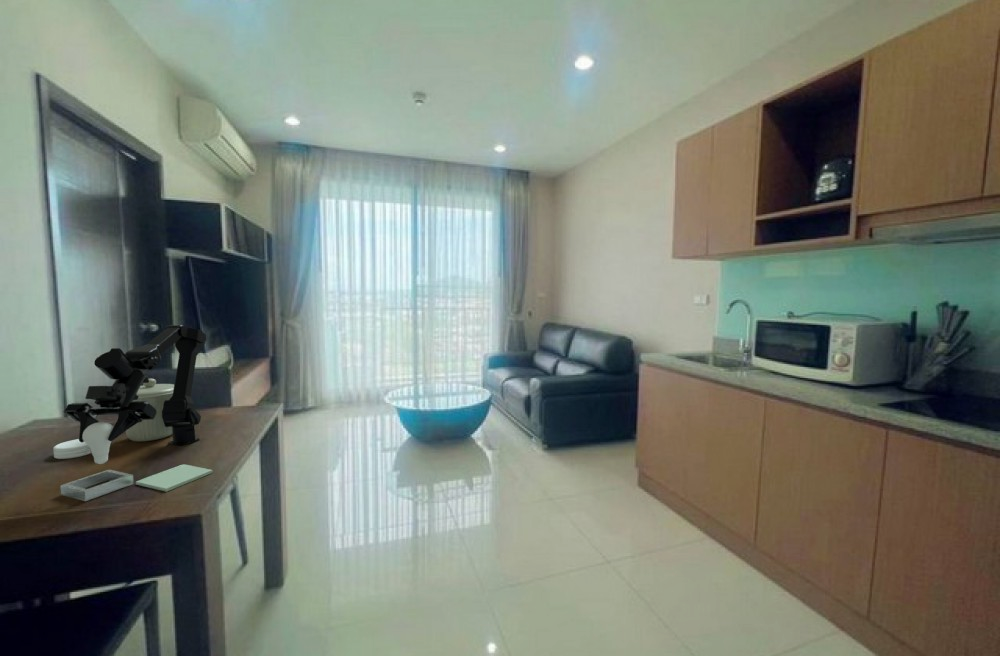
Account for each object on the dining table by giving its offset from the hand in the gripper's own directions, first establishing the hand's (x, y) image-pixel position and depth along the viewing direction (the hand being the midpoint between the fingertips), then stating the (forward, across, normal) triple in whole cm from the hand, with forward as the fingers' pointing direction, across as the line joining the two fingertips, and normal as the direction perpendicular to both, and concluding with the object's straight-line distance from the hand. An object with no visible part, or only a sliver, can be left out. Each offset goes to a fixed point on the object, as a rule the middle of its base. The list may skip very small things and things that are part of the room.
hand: (95, 441), depth 104 cm
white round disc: (-11, -28, +31) cm, 43 cm away
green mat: (+6, +15, +13) cm, 20 cm away
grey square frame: (+9, -1, +10) cm, 13 cm away
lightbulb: (+4, 0, +6) cm, 7 cm away
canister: (-20, -14, +40) cm, 47 cm away
